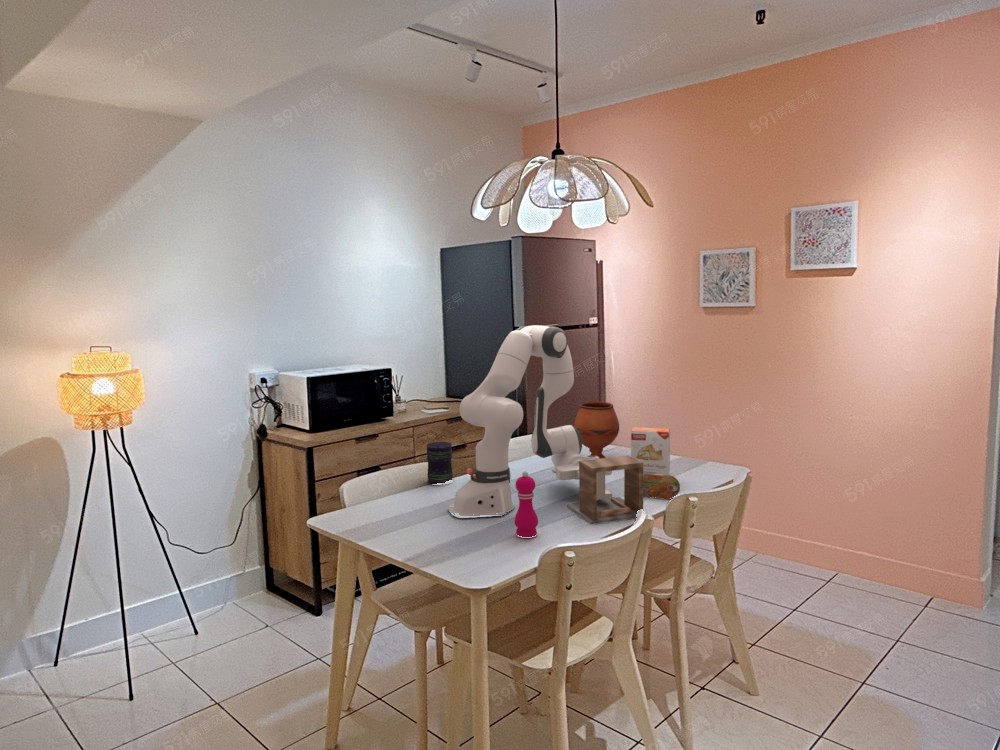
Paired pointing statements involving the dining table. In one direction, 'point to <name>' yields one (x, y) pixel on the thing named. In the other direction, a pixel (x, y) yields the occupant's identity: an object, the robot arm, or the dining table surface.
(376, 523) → the dining table surface
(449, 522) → the dining table surface
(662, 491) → the tin
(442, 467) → the storage jar
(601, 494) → the tall narrow cream block
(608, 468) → the frame
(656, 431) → the cracker box
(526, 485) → the pepper mill
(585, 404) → the goblet
